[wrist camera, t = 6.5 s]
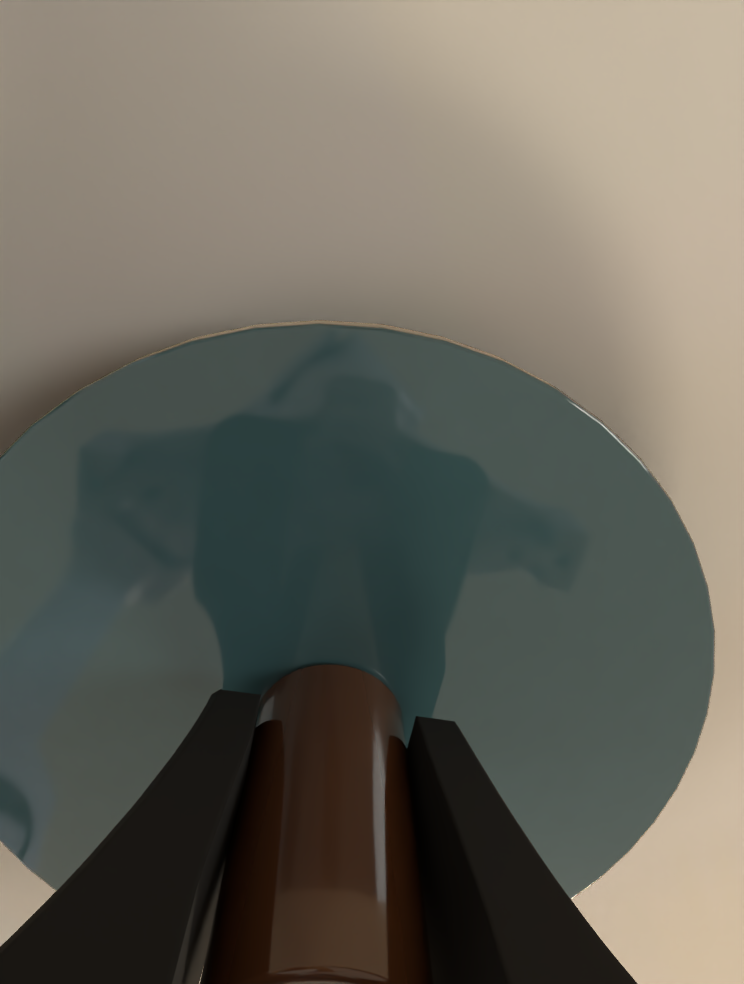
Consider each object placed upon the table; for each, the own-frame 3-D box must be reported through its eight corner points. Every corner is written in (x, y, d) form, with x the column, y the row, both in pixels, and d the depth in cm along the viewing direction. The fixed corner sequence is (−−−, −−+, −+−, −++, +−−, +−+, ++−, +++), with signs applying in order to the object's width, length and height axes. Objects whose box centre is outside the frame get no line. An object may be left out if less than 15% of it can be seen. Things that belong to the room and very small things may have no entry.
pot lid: (339, 996, 14) (333, 1425, 9) (-179, 688, 11) (-676, 1095, 6) (816, 670, 11) (1212, 1023, 6) (317, 103, 8) (253, -193, 3)
